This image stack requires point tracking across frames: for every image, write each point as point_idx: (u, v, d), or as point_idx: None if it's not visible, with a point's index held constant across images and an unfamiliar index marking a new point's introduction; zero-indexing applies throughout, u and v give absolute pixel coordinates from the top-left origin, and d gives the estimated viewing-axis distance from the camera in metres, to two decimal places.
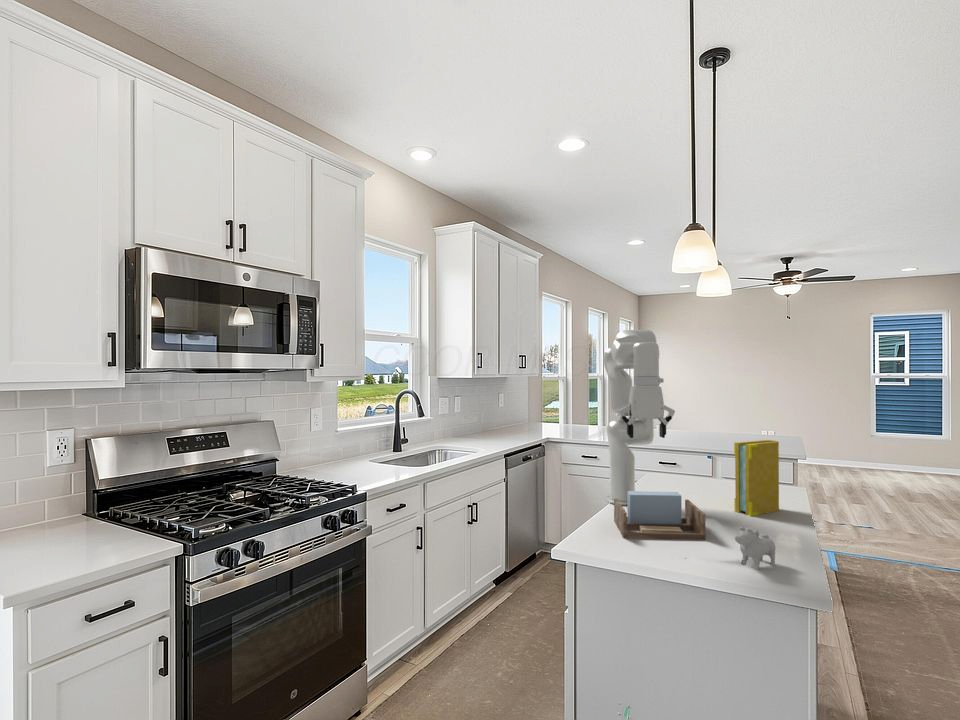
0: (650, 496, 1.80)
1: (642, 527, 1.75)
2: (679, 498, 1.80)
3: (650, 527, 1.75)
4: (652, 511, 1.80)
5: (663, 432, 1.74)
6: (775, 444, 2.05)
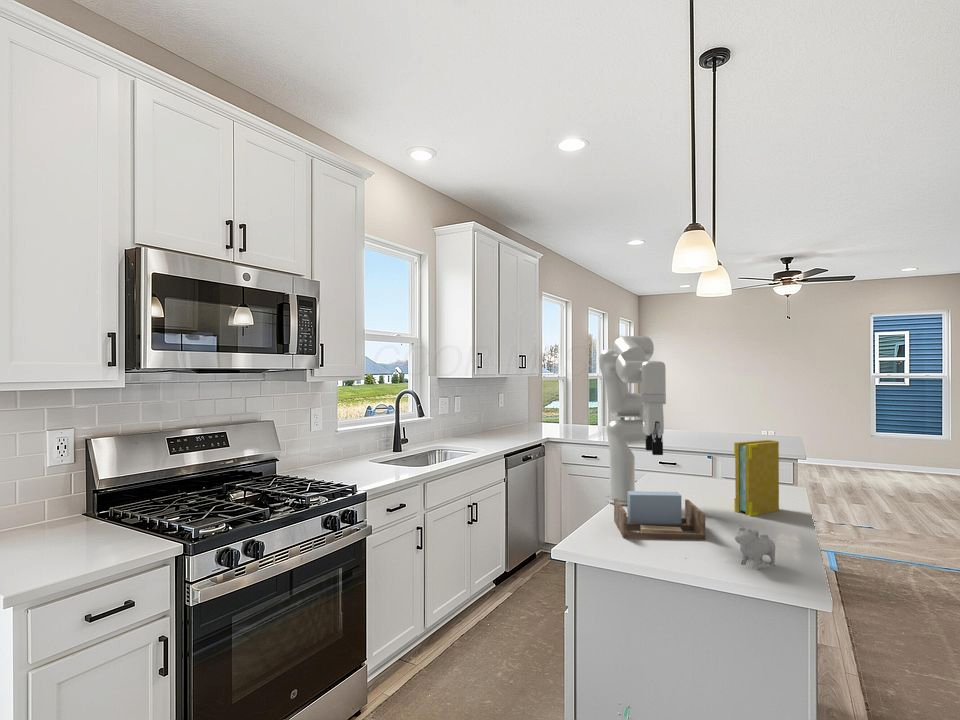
0: (650, 496, 1.80)
1: (642, 526, 1.75)
2: (679, 498, 1.80)
3: (651, 527, 1.75)
4: (652, 511, 1.80)
5: None
6: (775, 444, 2.05)
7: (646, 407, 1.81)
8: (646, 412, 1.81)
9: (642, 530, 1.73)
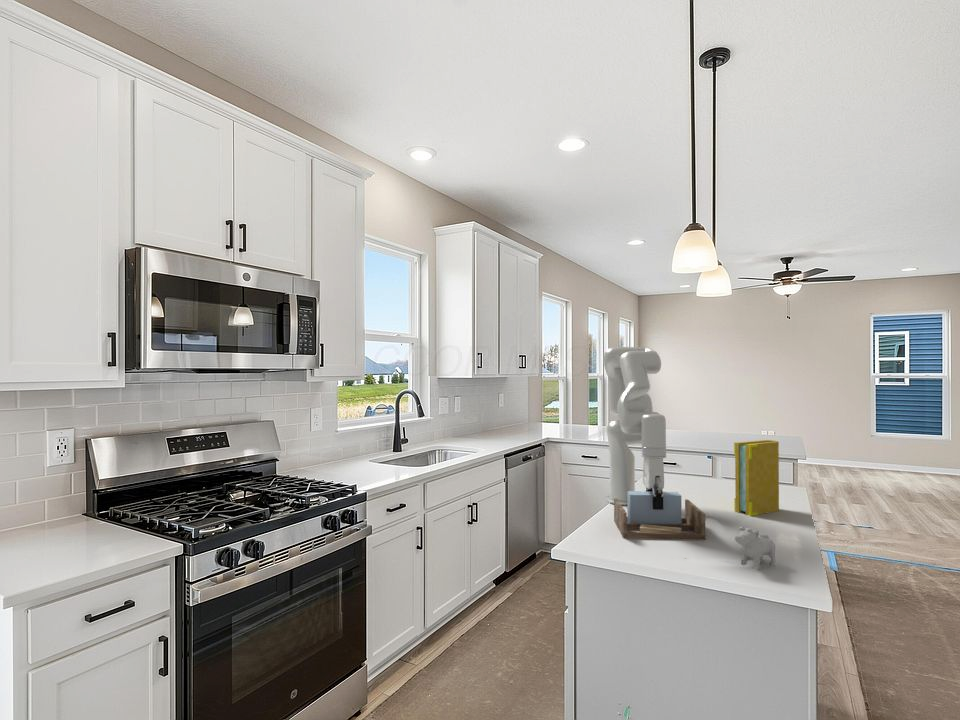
0: (650, 496, 1.80)
1: (642, 525, 1.76)
2: (679, 498, 1.80)
3: (650, 526, 1.75)
4: (652, 511, 1.80)
5: None
6: (775, 444, 2.05)
7: (646, 460, 1.81)
8: (646, 466, 1.81)
9: (641, 529, 1.74)
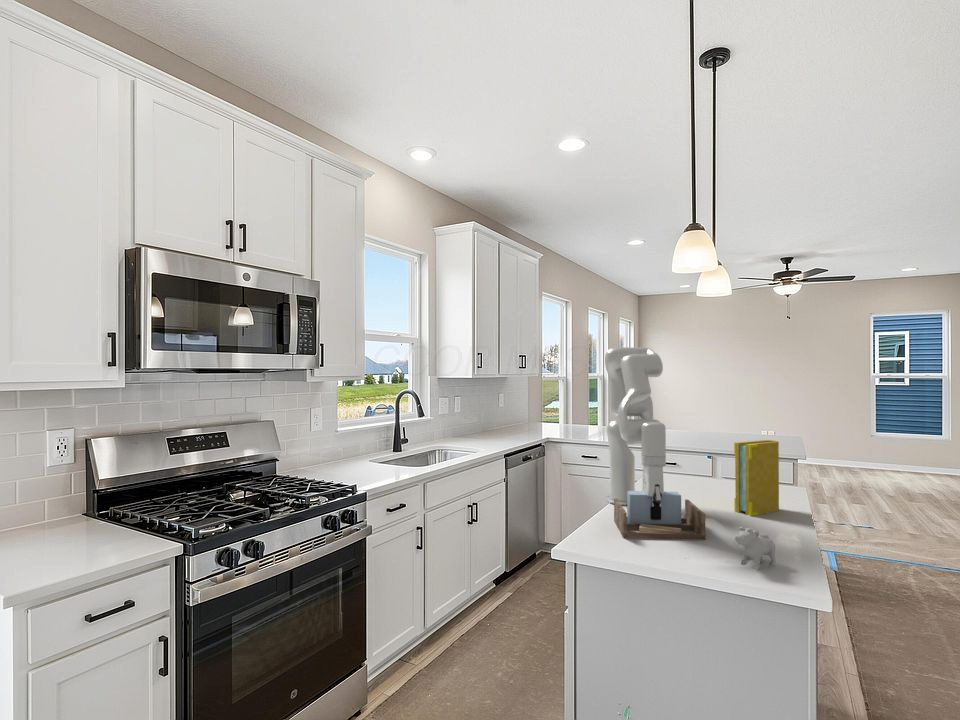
0: None
1: (642, 525, 1.77)
2: (679, 498, 1.80)
3: (650, 526, 1.76)
4: None
5: None
6: (775, 444, 2.05)
7: (646, 469, 1.81)
8: (646, 474, 1.81)
9: (640, 529, 1.75)
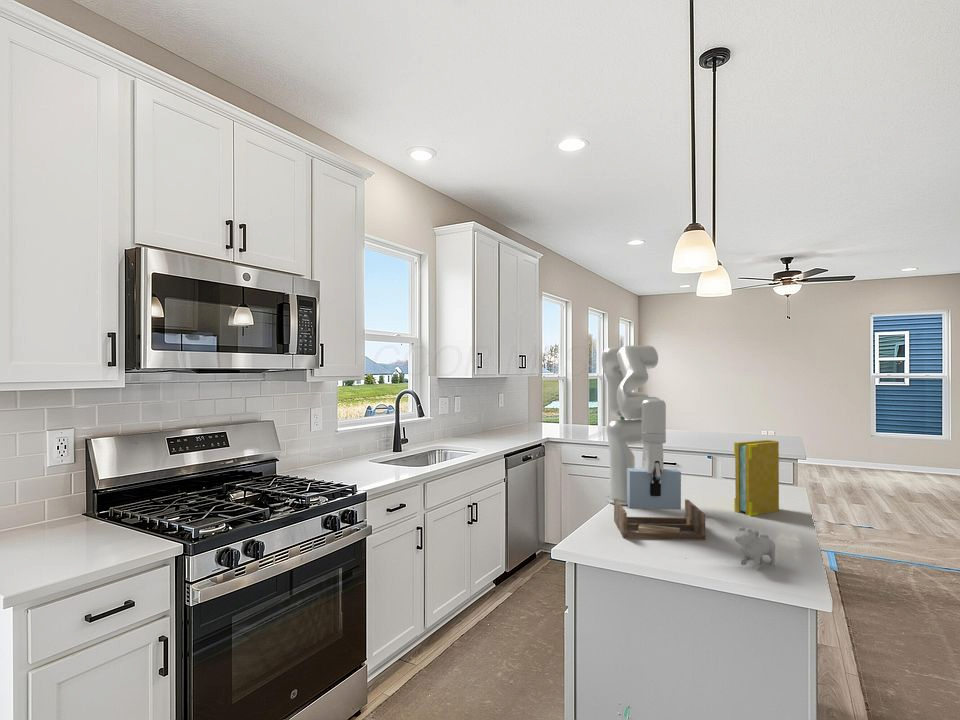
0: None
1: (641, 525, 1.77)
2: (679, 474, 1.80)
3: (649, 526, 1.76)
4: None
5: None
6: (775, 444, 2.05)
7: (646, 446, 1.81)
8: (646, 451, 1.81)
9: (639, 529, 1.75)
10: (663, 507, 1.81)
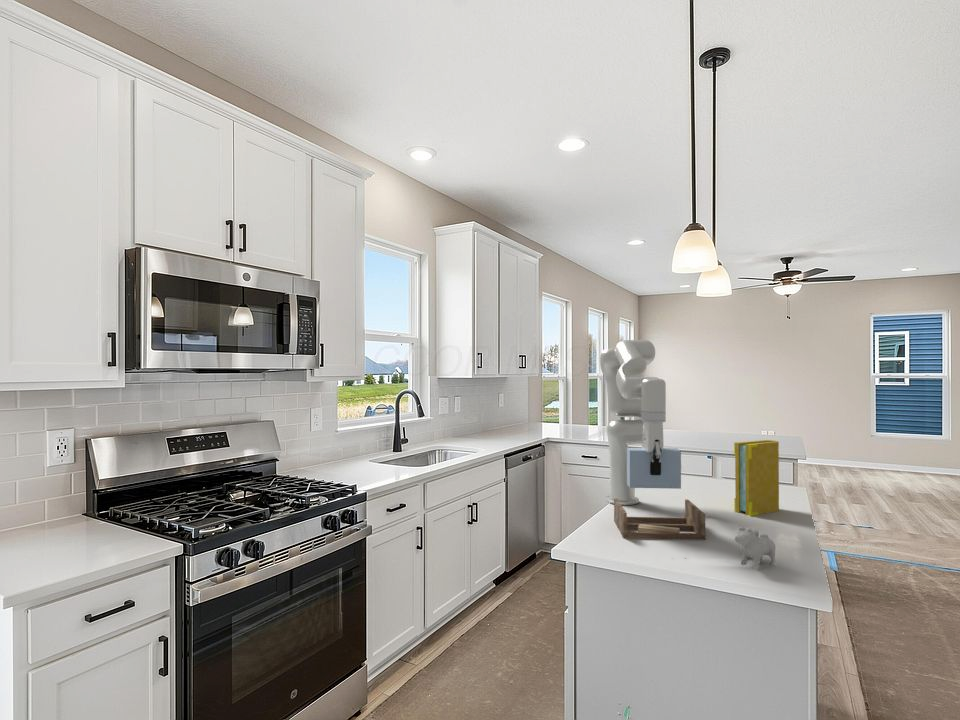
0: None
1: (640, 525, 1.76)
2: (679, 453, 1.80)
3: (649, 526, 1.76)
4: None
5: None
6: (775, 444, 2.05)
7: (646, 425, 1.81)
8: (646, 430, 1.81)
9: (639, 529, 1.75)
10: (663, 486, 1.80)
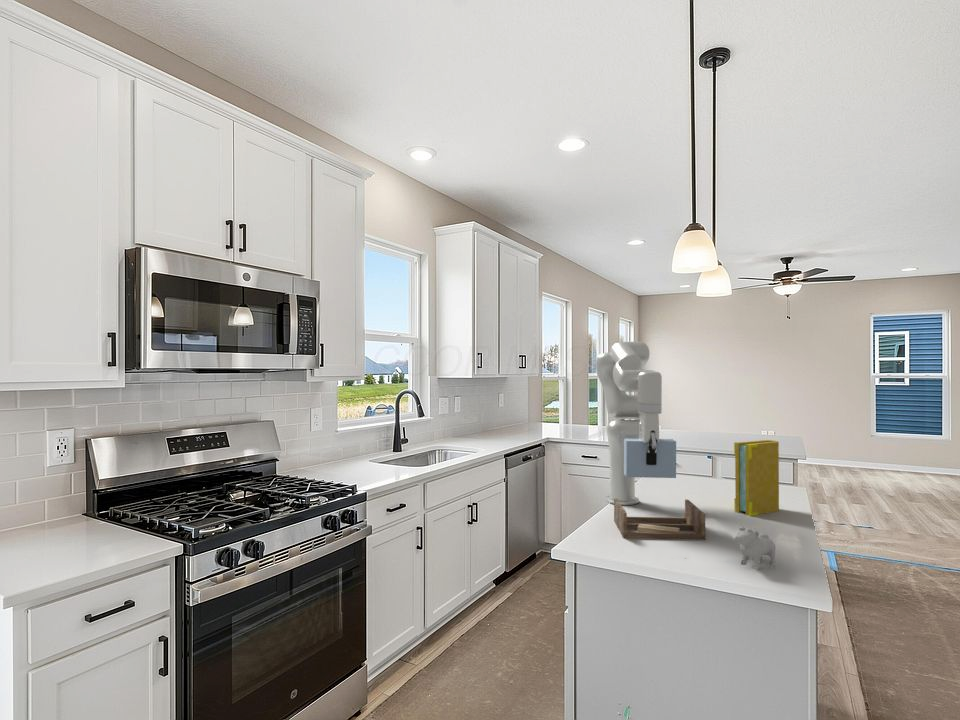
0: (646, 442, 1.86)
1: (640, 525, 1.77)
2: (674, 444, 1.86)
3: (648, 526, 1.76)
4: None
5: None
6: (775, 444, 2.05)
7: (642, 416, 1.87)
8: (642, 421, 1.87)
9: (638, 528, 1.75)
10: (659, 475, 1.86)
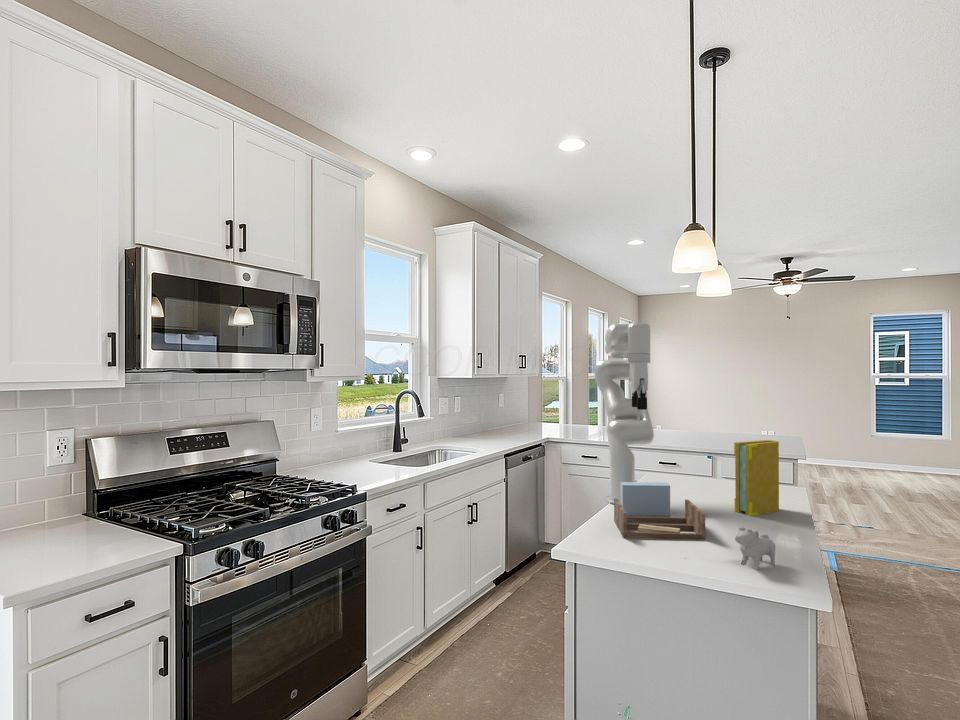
0: (641, 486, 1.95)
1: (640, 525, 1.77)
2: (668, 488, 1.94)
3: (649, 526, 1.76)
4: (643, 500, 1.95)
5: None
6: (775, 444, 2.05)
7: (632, 366, 1.94)
8: (632, 370, 1.94)
9: (638, 529, 1.75)
10: None
